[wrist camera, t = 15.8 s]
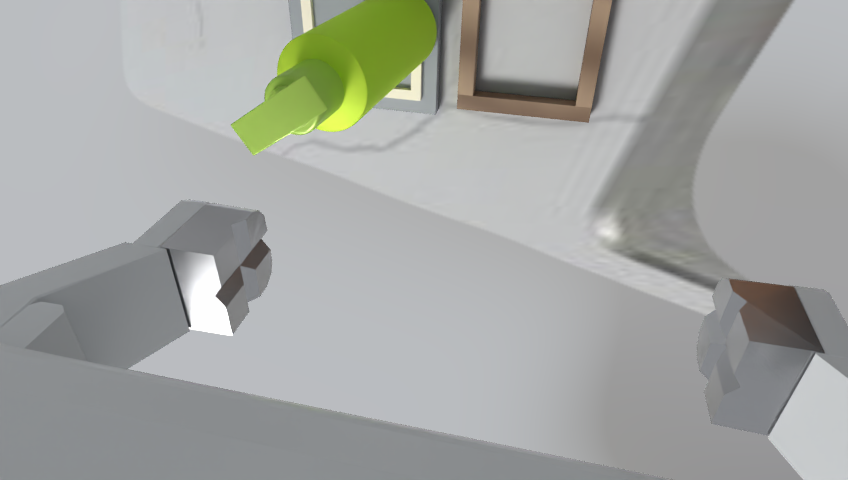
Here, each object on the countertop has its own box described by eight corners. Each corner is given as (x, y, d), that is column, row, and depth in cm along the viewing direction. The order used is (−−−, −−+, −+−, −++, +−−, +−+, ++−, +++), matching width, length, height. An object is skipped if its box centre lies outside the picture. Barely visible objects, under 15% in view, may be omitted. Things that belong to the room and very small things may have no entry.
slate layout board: (286, -72, 43) (278, -70, 42) (443, -64, 41) (439, -61, 40) (303, 95, 51) (297, 101, 50) (438, 110, 49) (434, 116, 48)
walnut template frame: (468, -50, 42) (465, -47, 41) (618, -41, 40) (619, -38, 39) (459, 103, 48) (457, 108, 47) (588, 116, 46) (588, 122, 45)
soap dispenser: (462, 37, 43) (348, 149, 28) (392, 80, 47) (256, 199, 31) (420, -37, 41) (272, 38, 26) (350, 13, 45) (184, 105, 29)
